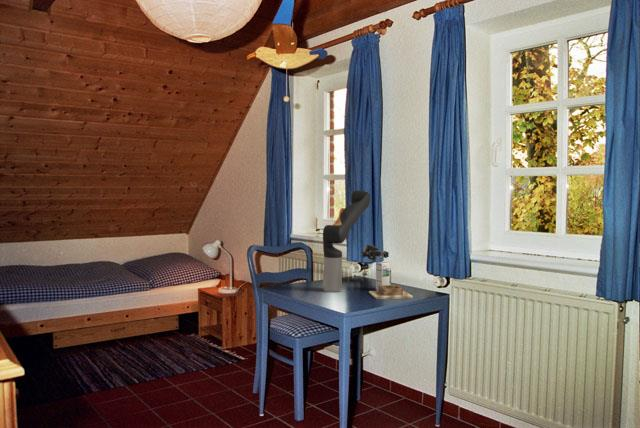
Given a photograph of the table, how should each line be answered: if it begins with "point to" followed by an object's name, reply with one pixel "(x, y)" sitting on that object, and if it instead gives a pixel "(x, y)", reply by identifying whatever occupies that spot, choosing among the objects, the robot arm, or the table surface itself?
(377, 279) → the syrup box
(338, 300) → the table surface
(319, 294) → the table surface
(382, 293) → the socket caddy
